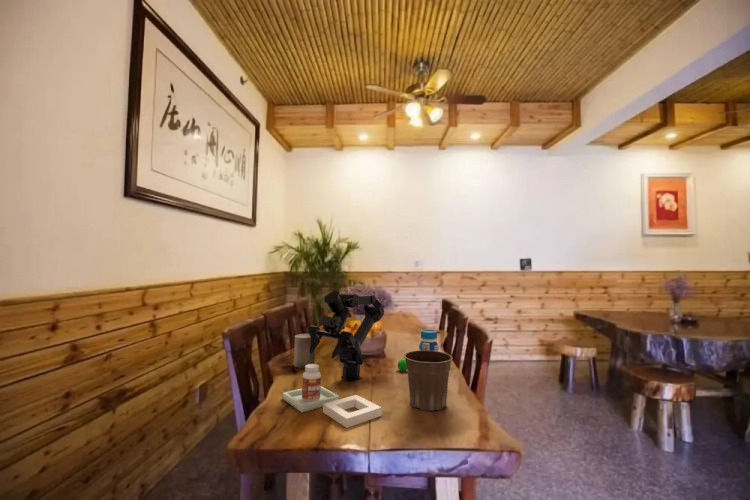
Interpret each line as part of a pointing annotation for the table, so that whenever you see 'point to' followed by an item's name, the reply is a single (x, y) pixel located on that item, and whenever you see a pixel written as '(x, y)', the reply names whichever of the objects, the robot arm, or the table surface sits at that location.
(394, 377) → the table surface
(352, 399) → the socket block
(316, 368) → the pill bottle
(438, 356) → the plant pot
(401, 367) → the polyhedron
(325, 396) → the parts tray
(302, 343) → the pillar candle
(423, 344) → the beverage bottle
